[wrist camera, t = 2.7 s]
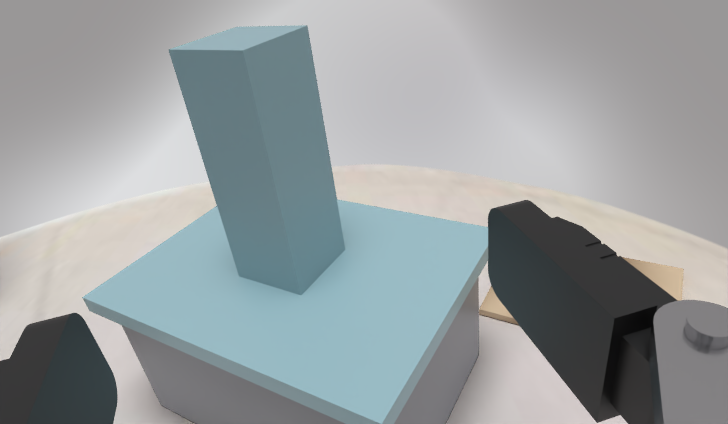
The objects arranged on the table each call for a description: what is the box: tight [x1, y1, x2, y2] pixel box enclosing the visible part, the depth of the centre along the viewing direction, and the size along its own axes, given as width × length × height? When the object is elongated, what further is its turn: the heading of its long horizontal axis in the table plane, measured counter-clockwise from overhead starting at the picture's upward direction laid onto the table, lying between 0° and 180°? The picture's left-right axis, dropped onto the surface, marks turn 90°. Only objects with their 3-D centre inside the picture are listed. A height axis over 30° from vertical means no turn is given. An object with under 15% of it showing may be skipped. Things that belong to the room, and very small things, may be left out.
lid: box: [83, 26, 488, 424], centre depth 21 cm, size 15×11×11 cm
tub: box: [122, 278, 479, 424], centre depth 25 cm, size 14×10×7 cm
